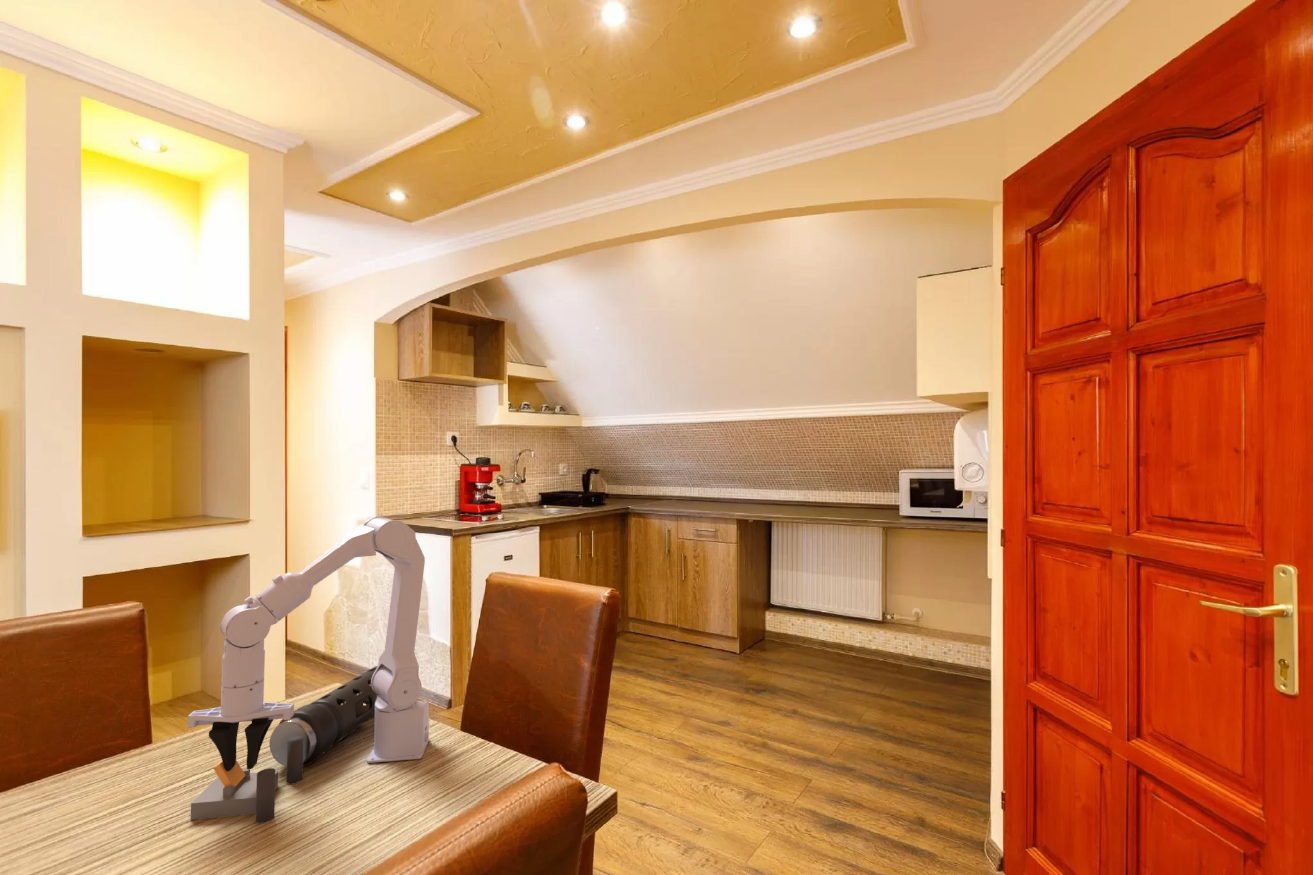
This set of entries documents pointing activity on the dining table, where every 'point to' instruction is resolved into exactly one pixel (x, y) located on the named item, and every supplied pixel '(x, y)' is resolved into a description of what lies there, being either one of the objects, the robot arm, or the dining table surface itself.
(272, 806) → the cylinder
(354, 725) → the muzzle brake
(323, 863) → the dining table surface
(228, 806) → the switch box
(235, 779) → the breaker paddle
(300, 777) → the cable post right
